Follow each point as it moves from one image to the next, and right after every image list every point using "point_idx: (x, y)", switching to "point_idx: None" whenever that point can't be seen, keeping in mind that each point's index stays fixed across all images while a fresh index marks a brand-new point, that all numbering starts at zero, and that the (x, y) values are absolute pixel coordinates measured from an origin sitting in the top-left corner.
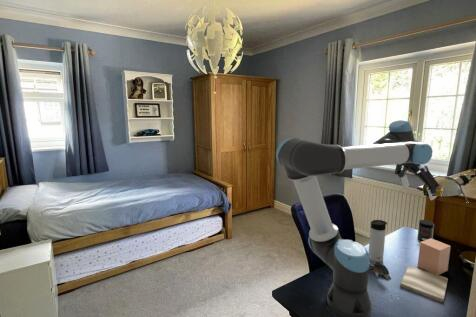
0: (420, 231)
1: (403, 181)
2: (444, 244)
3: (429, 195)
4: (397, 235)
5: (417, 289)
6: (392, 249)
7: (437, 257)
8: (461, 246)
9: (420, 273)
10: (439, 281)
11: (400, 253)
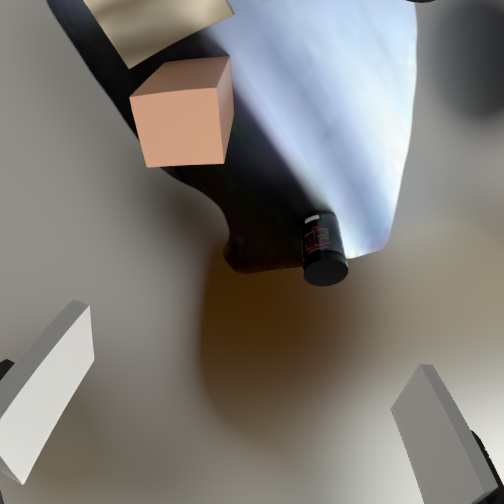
0: (330, 234)
1: (454, 447)
2: (162, 158)
3: (44, 342)
4: (386, 191)
5: None
6: (350, 87)
7: (147, 83)
8: (245, 258)
9: (179, 10)
10: (125, 31)
11: (317, 83)
